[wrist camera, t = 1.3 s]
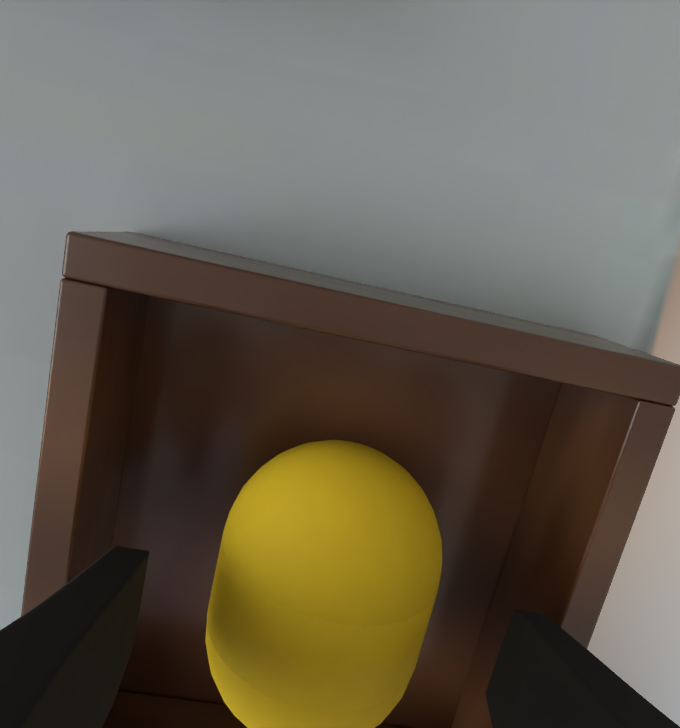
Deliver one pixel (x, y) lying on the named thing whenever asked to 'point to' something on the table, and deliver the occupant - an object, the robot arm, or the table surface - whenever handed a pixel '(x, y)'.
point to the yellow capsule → (322, 589)
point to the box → (329, 422)
